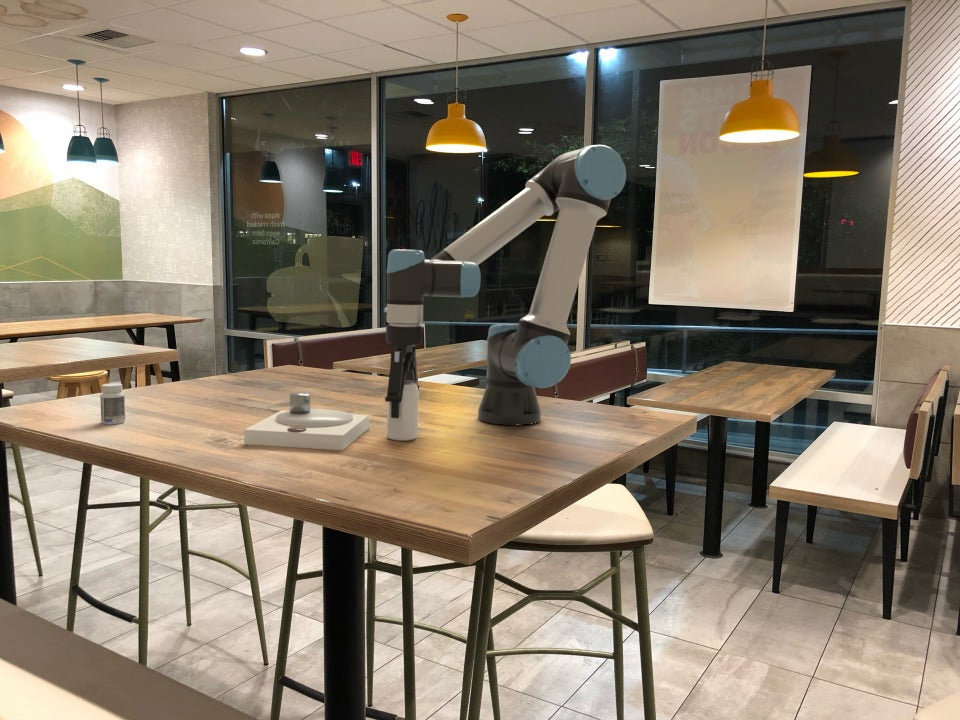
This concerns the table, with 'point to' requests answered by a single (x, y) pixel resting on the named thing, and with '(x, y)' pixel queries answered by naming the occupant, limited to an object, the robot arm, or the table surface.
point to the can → (407, 413)
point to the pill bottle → (112, 404)
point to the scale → (308, 429)
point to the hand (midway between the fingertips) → (402, 426)
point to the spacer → (299, 403)
